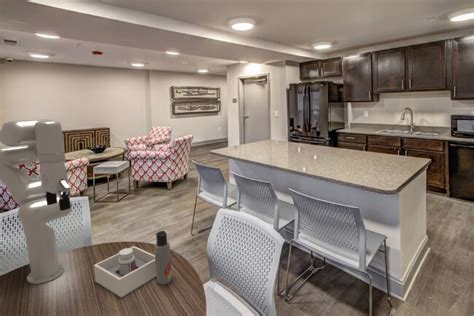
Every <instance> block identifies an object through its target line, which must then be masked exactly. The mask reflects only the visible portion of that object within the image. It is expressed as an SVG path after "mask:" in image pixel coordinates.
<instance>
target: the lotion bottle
mask: <svg viewBox="0 0 474 316" xmlns="http://www.w3.org/2000/svg"><path fill="white" fill-rule="evenodd" d="M155 236H156V239H155V240H156V243H155V244H154V247H153V248H154V255H155V262H156V282H157V283H158V284H159V285H168V284H169V283H171V281H172V279H173V278H172V276H173V275H172V273H173V272H172V259H171V258H172V257H171V256H172V255H171V244H170V242H168V236H167V232H166V231H165V230H160V231H158V232H156V234H155Z"/></svg>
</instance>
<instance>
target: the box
mask: <svg viewBox="0 0 474 316" xmlns="http://www.w3.org/2000/svg"><path fill="white" fill-rule="evenodd" d="M130 248H131V249H133V255H134V256H135V263H136V270H134V271H132V272H130V273H129V274H127V275H125V276H123V277H122V276H121V275H120V272H119V262H118V260H119V258H120V257H119V252H118V253H116V254H114V255H112V256H109V257H108V258H106V259H104V260H102V261H99V262H97V263H95V264H93V269H94V270H93V271H94V279H95V282H96V283H98V284H99V285H101V286H102V287H103V288H105V289H107V290H109V291H110V292H111V293H113V294H115V295H116V296H117V297H119V298H123V297H125V296H127V295H128V294H130V293H131V292H133V291H134V290H136V289H137V288H140V287H141V286H143V285H144V284H146V283H148V282H149V281H151V280H152V279H154V278H155V277H156V278H157V276H156V262H155V254H152V252H151V253H150V252H148V251H146V250H143V249H141V248H140V247H137V246H135V245H133V246H131V247H130Z"/></svg>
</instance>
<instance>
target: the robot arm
mask: <svg viewBox="0 0 474 316" xmlns="http://www.w3.org/2000/svg"><path fill="white" fill-rule="evenodd" d="M62 130H63V129H62V124H61V123H60V121H57V120H52V119H25V120H12V121H7V122H4V123H3V124H2V126H1V128H0V143H1V144H2V145H4V146H0V181H1V182H2V183H3V184H4V185H5V187H6V189H7V190H8V192H9V194H10V196H11V197H12V200H14V201H15V203H16V204H17V205H19V208H18V212H17V213H18V218H19V220H20V223H21V225H22V228H23V232H24V237H25V243H26V244H25V245H26V248H27V255H28V260H29V268H30V272H29V274H28V275H27V276H26V280H27V282H28V283H29V284H31V285H32V284H34V285H40V284H44V283H48V282H51V281H53V280H55V279H57V278H59V277H60V276H61V275H62V274H63V273H64V272H65V265H63V264H61V263H60V262H59V254H58V247H57V240H56V234H55V231H54V229H53V228H52V227H51V226H50V225H48V224H47V223H49V222H51V221H55V220H58V219H62V218H64V217H66V216H68V215H69V214H71V212H72V210H73V209H72V203H71V200H70V197H71V195H70V194H71V187H70V185H69V178H68V173H67V169H66V168H67V167H66V163H65V162H66V154H65V153H66V152H65V146H64V145H65V144H64V137H63V131H62ZM37 161H38V164H39V168H40V169H39V173H40V178H37V179H36V178H35V179H32V178H31V177H30V175H29V173H28V172H26V171H24V170H23V169H21V168H19V167H15V166H20V165H27V164H33V163H36V162H37Z"/></svg>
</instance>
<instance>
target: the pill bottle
mask: <svg viewBox="0 0 474 316" xmlns="http://www.w3.org/2000/svg"><path fill="white" fill-rule="evenodd" d="M118 253H119V257H120V258H119V260H118V262H119V272H120V275H121V276H122V277H123V276H125V275H127V274H129V273H130V272H132V271H134V270H136V263H135V256H134V255H133V249H131V247H126V248H123V249H121V250H119V252H118Z"/></svg>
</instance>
